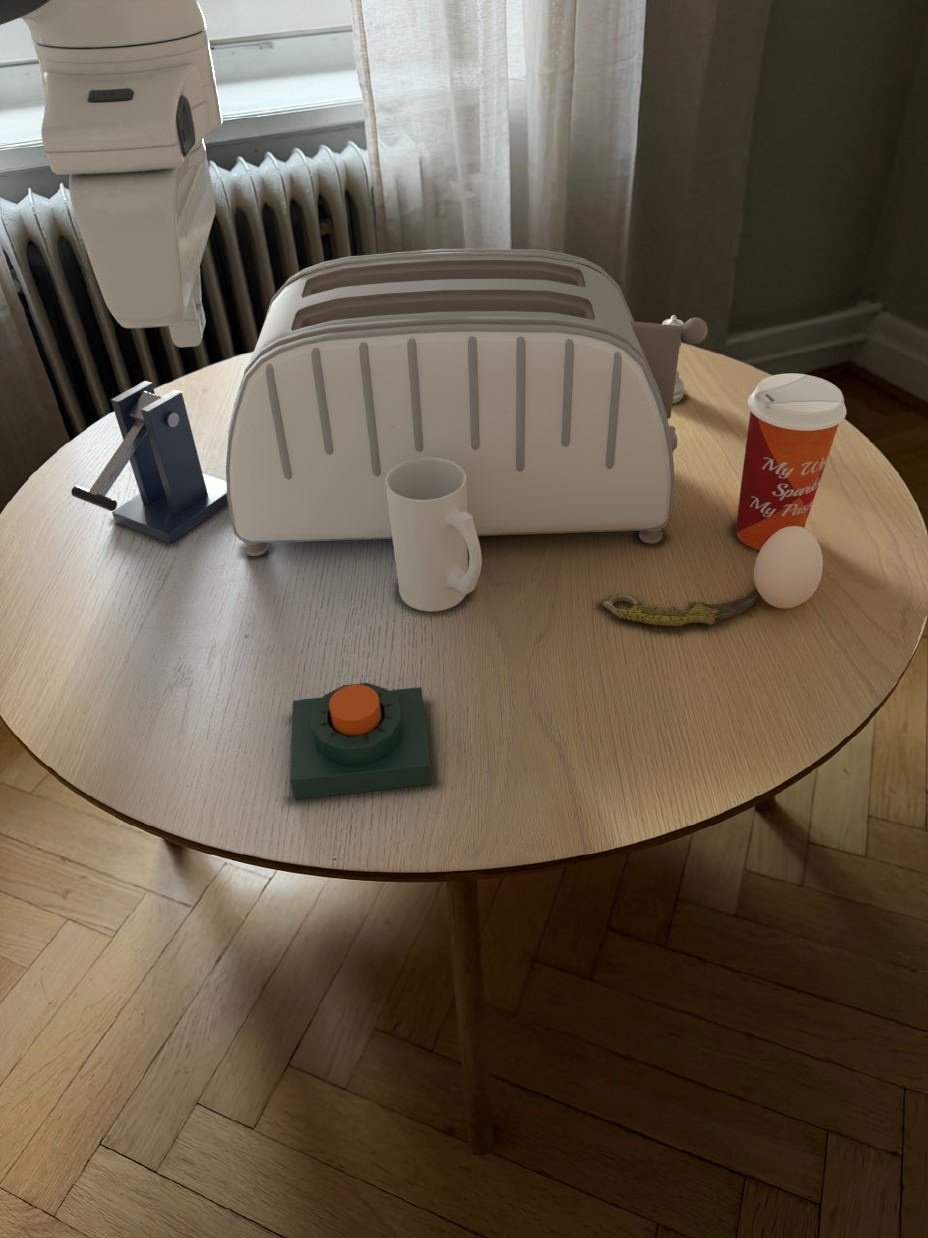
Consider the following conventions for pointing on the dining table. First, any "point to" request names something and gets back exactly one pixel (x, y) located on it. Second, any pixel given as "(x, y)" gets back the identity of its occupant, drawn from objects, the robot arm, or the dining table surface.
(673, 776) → the dining table surface
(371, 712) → the button
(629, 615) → the knife
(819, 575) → the egg
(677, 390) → the chess piece
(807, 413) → the coffee cup
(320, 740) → the button box
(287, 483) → the toaster
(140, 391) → the bracket
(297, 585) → the dining table surface
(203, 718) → the dining table surface
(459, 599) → the mug
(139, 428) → the lever
